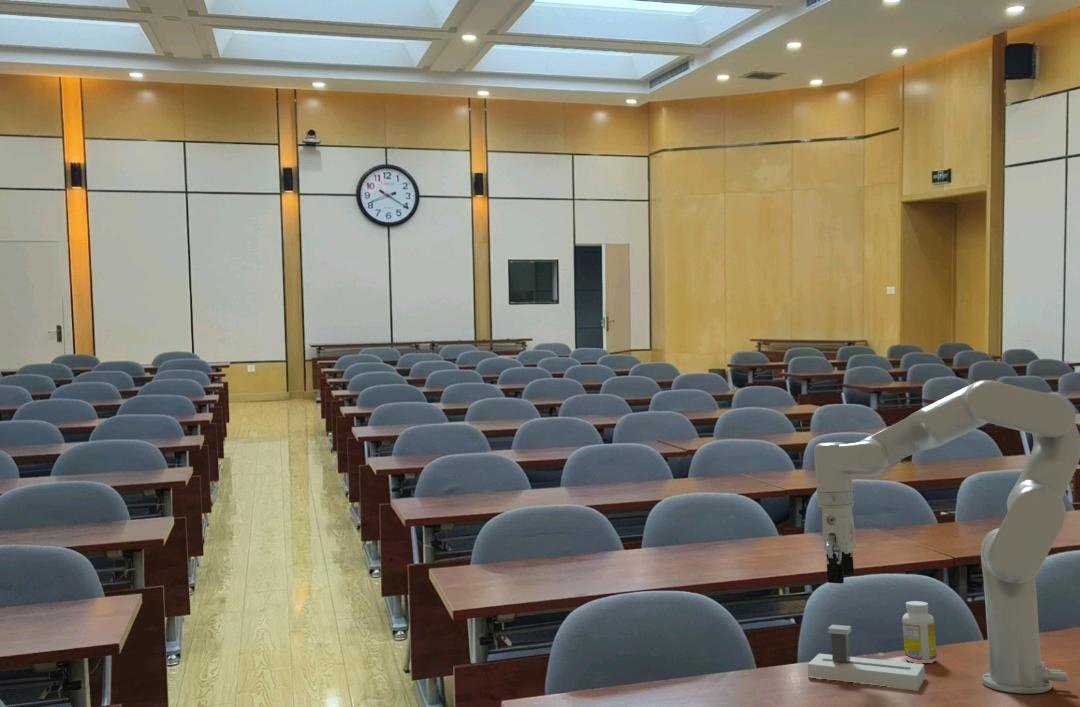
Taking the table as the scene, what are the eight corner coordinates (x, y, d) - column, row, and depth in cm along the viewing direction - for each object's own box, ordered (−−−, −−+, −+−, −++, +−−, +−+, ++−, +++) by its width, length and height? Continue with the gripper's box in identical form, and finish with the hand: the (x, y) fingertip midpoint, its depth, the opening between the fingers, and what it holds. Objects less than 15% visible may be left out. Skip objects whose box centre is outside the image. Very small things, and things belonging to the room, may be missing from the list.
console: (925, 678, 195) (924, 663, 196) (917, 690, 188) (916, 675, 188) (819, 667, 207) (818, 653, 207) (808, 678, 199) (807, 663, 199)
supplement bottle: (931, 656, 211) (928, 599, 212) (941, 664, 205) (937, 606, 205) (901, 657, 212) (897, 600, 213) (909, 665, 205) (906, 606, 206)
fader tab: (852, 659, 200) (851, 626, 201) (849, 663, 197) (847, 629, 198) (834, 657, 203) (832, 624, 203) (829, 661, 199) (828, 628, 200)
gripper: (843, 503, 193) (850, 587, 192) (861, 495, 208) (867, 572, 207) (807, 503, 197) (813, 585, 196) (827, 495, 211) (833, 571, 210)
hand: (841, 578), depth 201 cm, fingers open, 9 cm apart
